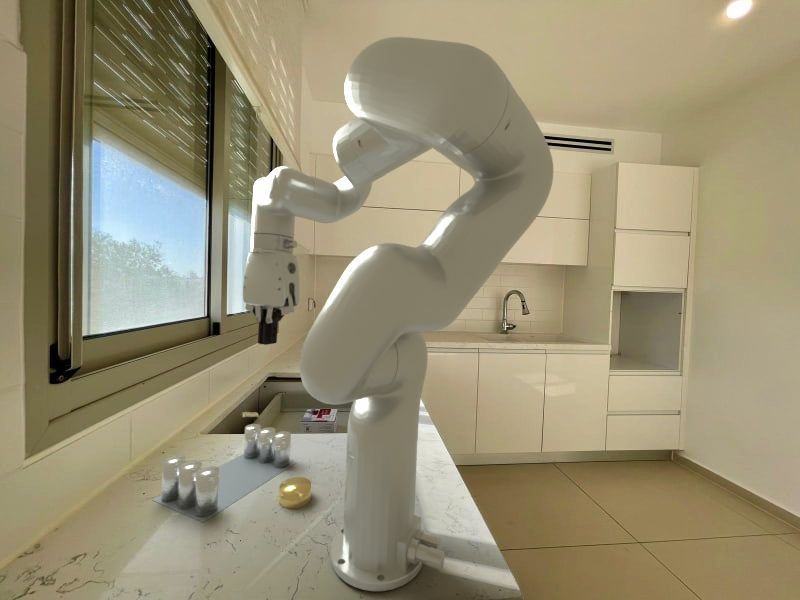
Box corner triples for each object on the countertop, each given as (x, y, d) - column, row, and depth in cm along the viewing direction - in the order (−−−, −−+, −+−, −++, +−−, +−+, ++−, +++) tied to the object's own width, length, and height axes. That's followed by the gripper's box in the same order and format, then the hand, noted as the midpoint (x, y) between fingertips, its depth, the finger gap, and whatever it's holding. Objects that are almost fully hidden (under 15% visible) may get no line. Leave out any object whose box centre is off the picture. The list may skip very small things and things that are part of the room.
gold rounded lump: (316, 498, 56) (317, 480, 56) (298, 516, 51) (298, 497, 51) (292, 491, 58) (292, 474, 58) (271, 508, 53) (272, 489, 53)
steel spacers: (292, 462, 66) (294, 432, 66) (204, 519, 49) (205, 478, 49) (252, 451, 70) (253, 422, 70) (157, 498, 53) (158, 461, 53)
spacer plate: (296, 465, 66) (296, 462, 66) (203, 526, 48) (203, 522, 48) (252, 452, 71) (252, 449, 71) (151, 503, 53) (151, 499, 53)
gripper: (317, 250, 63) (312, 345, 63) (257, 249, 69) (252, 337, 69) (290, 243, 56) (285, 350, 56) (226, 243, 62) (221, 341, 62)
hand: (267, 343), depth 63 cm, fingers closed
